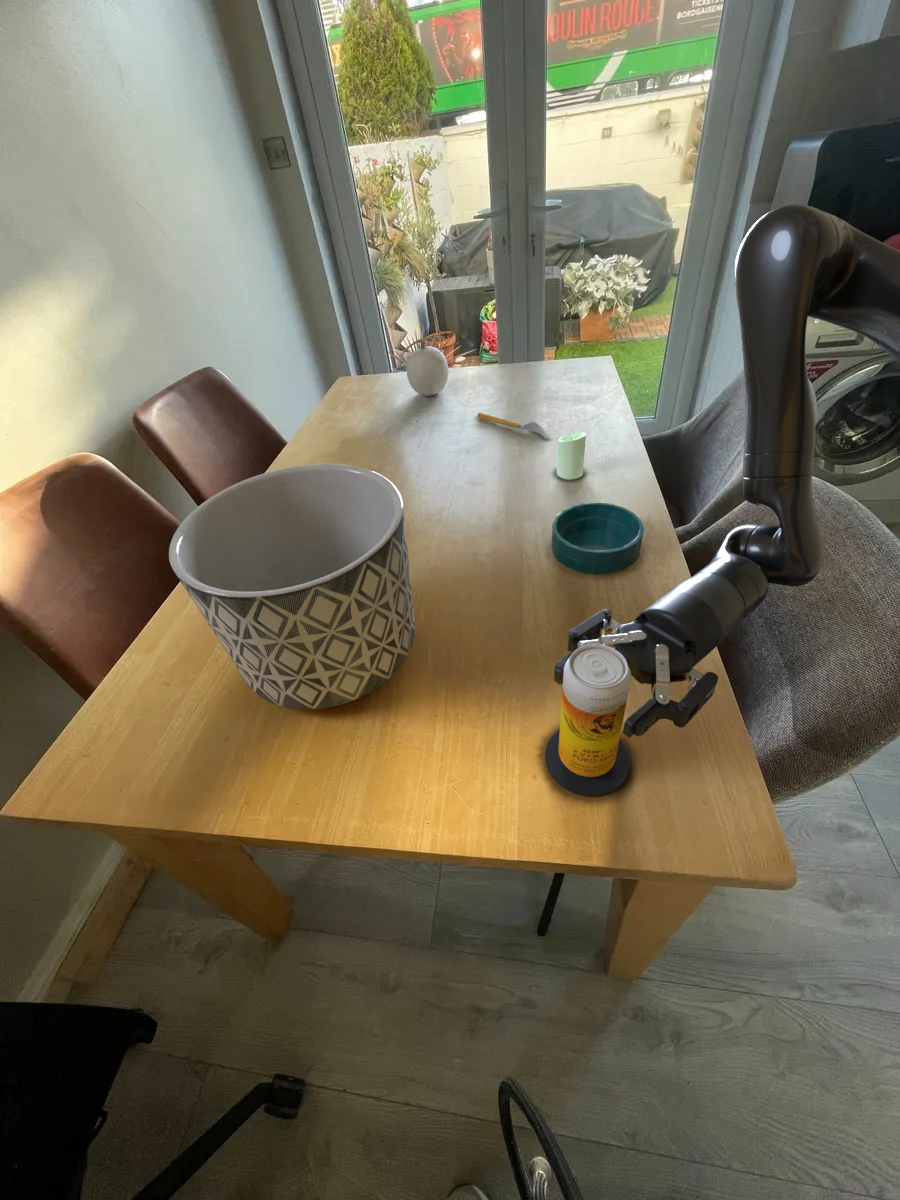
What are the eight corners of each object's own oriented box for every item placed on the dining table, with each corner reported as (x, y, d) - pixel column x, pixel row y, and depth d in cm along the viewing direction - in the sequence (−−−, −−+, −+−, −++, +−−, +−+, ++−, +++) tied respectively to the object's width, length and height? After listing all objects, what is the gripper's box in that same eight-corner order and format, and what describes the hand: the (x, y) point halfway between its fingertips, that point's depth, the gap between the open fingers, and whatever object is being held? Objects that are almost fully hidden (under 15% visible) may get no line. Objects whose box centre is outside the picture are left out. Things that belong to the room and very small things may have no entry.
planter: (402, 740, 65) (366, 601, 50) (203, 721, 69) (117, 590, 55) (442, 594, 83) (423, 462, 69) (283, 587, 88) (235, 463, 74)
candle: (551, 473, 107) (552, 434, 102) (569, 464, 109) (571, 424, 104) (570, 482, 104) (573, 442, 98) (588, 472, 106) (592, 432, 101)
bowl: (644, 531, 90) (648, 508, 87) (633, 583, 81) (637, 559, 78) (562, 520, 95) (563, 498, 92) (542, 568, 86) (543, 545, 83)
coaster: (634, 736, 62) (635, 734, 62) (622, 808, 56) (623, 806, 56) (555, 716, 65) (555, 714, 65) (536, 782, 59) (536, 780, 59)
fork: (474, 413, 128) (545, 430, 116) (479, 408, 128) (550, 425, 117) (476, 422, 130) (547, 440, 118) (481, 417, 130) (552, 435, 119)
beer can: (572, 788, 58) (581, 698, 48) (549, 740, 62) (553, 650, 52) (625, 771, 59) (645, 680, 49) (599, 726, 63) (612, 634, 53)
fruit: (406, 389, 147) (397, 329, 137) (449, 384, 147) (443, 323, 137) (406, 404, 139) (397, 342, 129) (451, 399, 139) (445, 336, 129)
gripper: (639, 564, 61) (536, 637, 55) (764, 628, 53) (660, 725, 46) (631, 613, 66) (535, 685, 60) (744, 679, 58) (647, 773, 51)
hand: (590, 702), depth 53 cm, fingers open, 8 cm apart
